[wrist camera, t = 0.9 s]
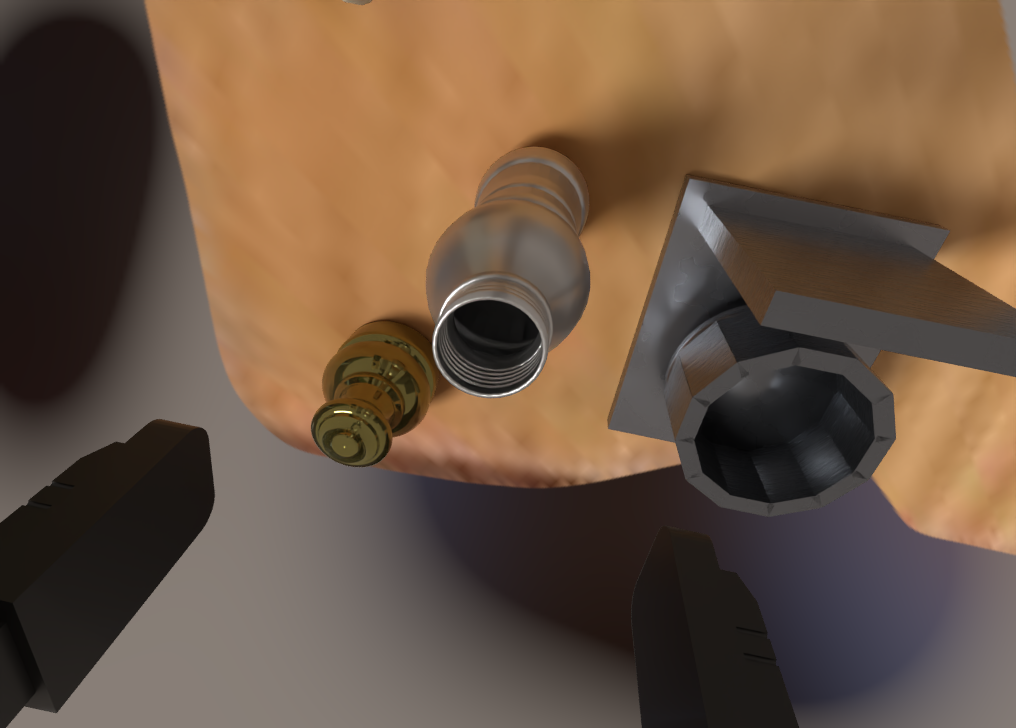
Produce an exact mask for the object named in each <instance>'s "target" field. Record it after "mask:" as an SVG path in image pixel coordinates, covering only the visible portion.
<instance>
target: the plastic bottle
mask: <svg viewBox="0 0 1016 728" xmlns="http://www.w3.org/2000/svg"><path fill="white" fill-rule="evenodd" d="M588 212H589V192H588V188H587V184H586V182H585V179H584V177H583V175H582V173H581V172H580V170H579V169H578V168H577V166H576V165H575V164H574V163H573V162H572V161H571V160H570V159H569V158H567V157H566V156H564V155H563V154H561V153H559V152H557V151H555V150H552V149H549V148H545V147H535V146H533V147H524V148H520V149H517V150H514V151H511V152H509V153H507V154H505V155H504V156H502V157H500V158H499V159H498V160H497V161H496V162H494V163H493V164H492V165H491V166H490V168H489V169H488V170H487V172H486V173H485V174H484V176H483V178H482V180H481V182H480V184H479V187H478V190H477V194H476V198H475V207H474V208H473V209H471V210H469V211H468V212H466V213H464V214H463V215H462V216H461V217H459V218H458V219H457V220H456V221H455V222H454V223H452V224H451V225H450V226H449V227H448V228H447V229H446V231H445V232H444V233H443V234H442V236H441V237H440V238H439V240H438V241H437V242H436V245H435V247H434V249H433V251H432V253H431V255H430V258H429V262H428V266H427V270H426V294H427V300H428V307H429V310H430V313H431V315H432V318H433V321H434V323H435V324H436V325H435V329H434V332H433V339H432V350H433V356H434V360H435V362H436V365H437V367H438V369H439V370H440V372H441V373H442V375H443V376H444V377H445V378H446V379H447V380H448V381H449V382H450V383H451V384H452V385H453V386H455V387H456V388H458V389H459V390H461V391H463V392H465V393H467V394H470V395H474V396H477V397H483V398H501V397H505V396H510V395H513V394H515V393H517V392H520V391H521V390H523V389H525V388H526V387H528V386H529V385H530V384H531V383H532V382H533V381H534V380H535V379H536V378H537V377H538V375H539V374H540V372H541V371H542V369H543V367H544V364H545V362H546V359H547V355H548V352H550V351H551V350H553V349H554V348H556V347H557V346H558V345H559V344H560V343H561V342H562V341H563V340H564V339H565V338H566V337H567V336H568V335H569V334H570V332H571V331H572V330H573V329H574V327H575V326H576V324H577V323H578V321H579V320H580V318H581V317H582V314H583V312H584V310H585V307H586V305H587V302H588V297H589V292H590V271H589V266H588V261H587V257H586V253H585V249H584V247H583V245H582V243H581V241H580V239H579V236H580V235H581V233H582V230H583V228H584V226H585V223H586V220H587V217H588Z"/></svg>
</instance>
